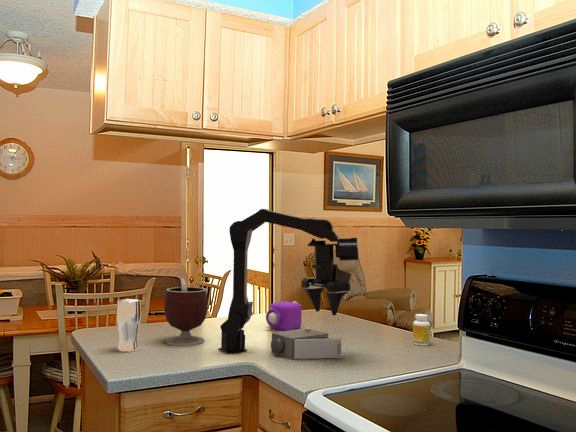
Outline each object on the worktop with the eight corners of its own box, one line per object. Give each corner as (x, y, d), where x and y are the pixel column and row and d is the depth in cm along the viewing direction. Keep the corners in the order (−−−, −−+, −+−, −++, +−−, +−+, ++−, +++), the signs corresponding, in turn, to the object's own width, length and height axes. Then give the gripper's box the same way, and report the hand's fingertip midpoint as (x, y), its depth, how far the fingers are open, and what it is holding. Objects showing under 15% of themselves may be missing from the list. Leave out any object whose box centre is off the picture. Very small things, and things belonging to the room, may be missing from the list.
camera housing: (286, 360, 161) (286, 336, 161) (266, 353, 169) (266, 330, 169) (327, 353, 171) (328, 330, 171) (307, 346, 179) (307, 325, 179)
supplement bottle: (424, 346, 183) (424, 316, 183) (409, 343, 186) (410, 314, 186) (432, 344, 187) (432, 315, 187) (418, 341, 190) (418, 313, 190)
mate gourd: (210, 345, 179) (212, 282, 179) (166, 347, 174) (168, 283, 174) (201, 335, 193) (202, 277, 194) (160, 337, 189) (161, 278, 189)
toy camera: (260, 330, 204) (261, 303, 204) (278, 324, 216) (279, 298, 216) (287, 333, 199) (287, 305, 199) (303, 327, 211) (304, 301, 211)
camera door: (295, 359, 161) (295, 340, 161) (293, 358, 162) (294, 339, 162) (341, 357, 164) (342, 339, 164) (340, 356, 165) (340, 338, 165)
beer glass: (130, 353, 166) (131, 302, 166) (111, 351, 168) (112, 301, 168) (144, 348, 172) (145, 299, 172) (125, 346, 174) (126, 298, 175)
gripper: (364, 260, 163) (366, 314, 163) (329, 258, 180) (331, 307, 179) (332, 263, 158) (334, 318, 158) (299, 260, 174) (301, 310, 174)
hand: (325, 313), depth 167 cm, fingers open, 9 cm apart
